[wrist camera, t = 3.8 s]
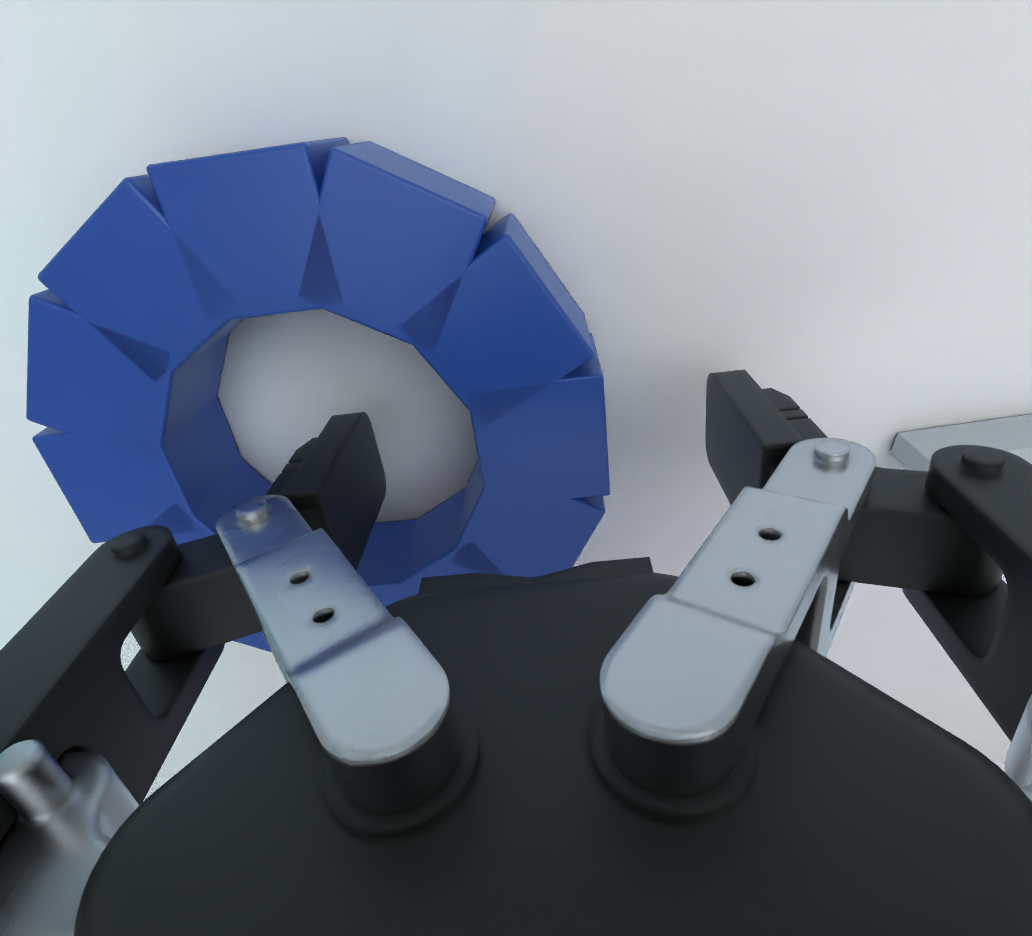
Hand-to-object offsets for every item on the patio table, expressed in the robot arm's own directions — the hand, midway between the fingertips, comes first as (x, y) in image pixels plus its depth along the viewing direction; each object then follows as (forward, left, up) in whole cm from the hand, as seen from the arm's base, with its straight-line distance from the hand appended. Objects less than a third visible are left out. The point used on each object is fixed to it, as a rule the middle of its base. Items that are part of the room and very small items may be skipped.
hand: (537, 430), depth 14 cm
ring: (+2, -4, -2) cm, 5 cm away
